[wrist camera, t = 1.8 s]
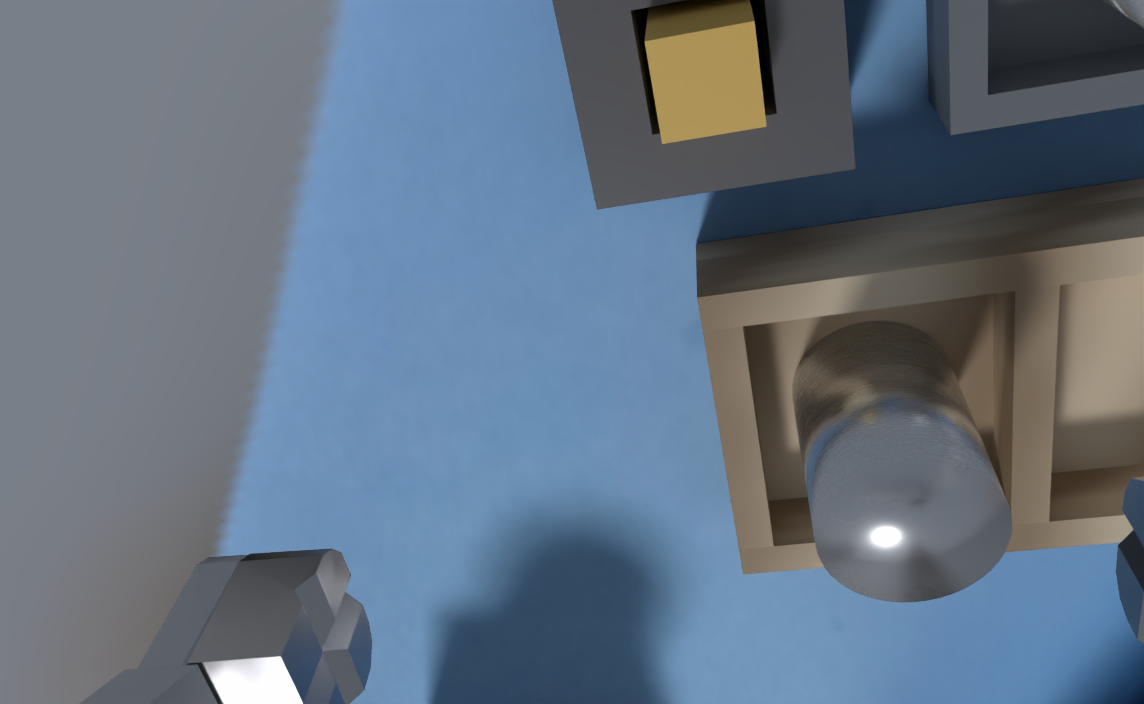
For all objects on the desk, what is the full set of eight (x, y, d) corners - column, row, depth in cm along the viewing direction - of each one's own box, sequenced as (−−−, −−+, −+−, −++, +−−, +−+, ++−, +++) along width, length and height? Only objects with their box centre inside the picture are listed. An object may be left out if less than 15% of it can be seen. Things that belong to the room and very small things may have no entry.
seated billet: (951, 310, 27) (1013, 449, 22) (954, 441, 29) (1011, 594, 24) (784, 331, 28) (806, 470, 23) (799, 457, 30) (822, 608, 25)
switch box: (818, -134, 22) (836, -114, 20) (838, 123, 25) (855, 168, 23) (556, -78, 24) (540, -53, 21) (605, 162, 27) (597, 209, 24)
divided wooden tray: (1350, 147, 25) (1426, 197, 22) (1290, 453, 29) (1346, 523, 27) (695, 243, 28) (697, 297, 25) (738, 506, 32) (743, 574, 30)
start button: (746, -14, 22) (754, 21, 20) (757, 82, 24) (766, 126, 21) (648, 4, 23) (644, 41, 20) (664, 98, 24) (661, 144, 21)
